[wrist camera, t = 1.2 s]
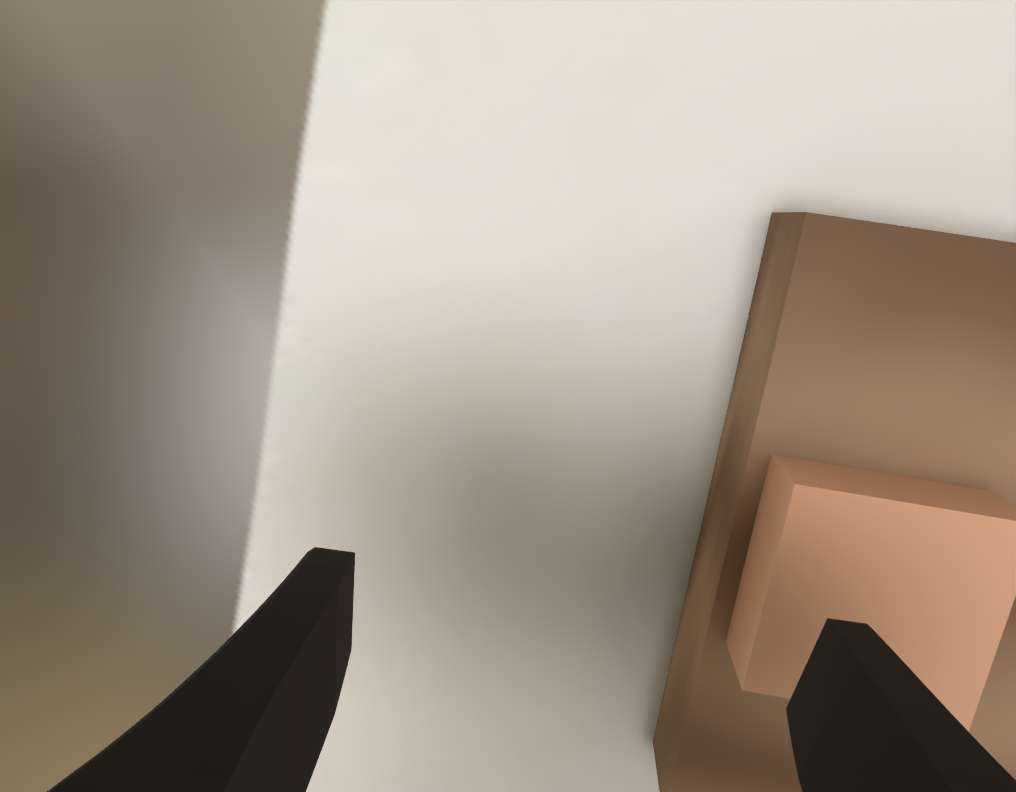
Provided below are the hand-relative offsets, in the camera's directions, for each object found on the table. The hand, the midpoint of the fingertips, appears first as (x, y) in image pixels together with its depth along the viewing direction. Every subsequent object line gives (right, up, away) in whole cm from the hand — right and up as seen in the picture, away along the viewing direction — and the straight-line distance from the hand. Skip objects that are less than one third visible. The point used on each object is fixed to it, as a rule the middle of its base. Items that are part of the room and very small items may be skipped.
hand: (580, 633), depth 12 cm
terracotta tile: (+7, -1, +7) cm, 10 cm away
